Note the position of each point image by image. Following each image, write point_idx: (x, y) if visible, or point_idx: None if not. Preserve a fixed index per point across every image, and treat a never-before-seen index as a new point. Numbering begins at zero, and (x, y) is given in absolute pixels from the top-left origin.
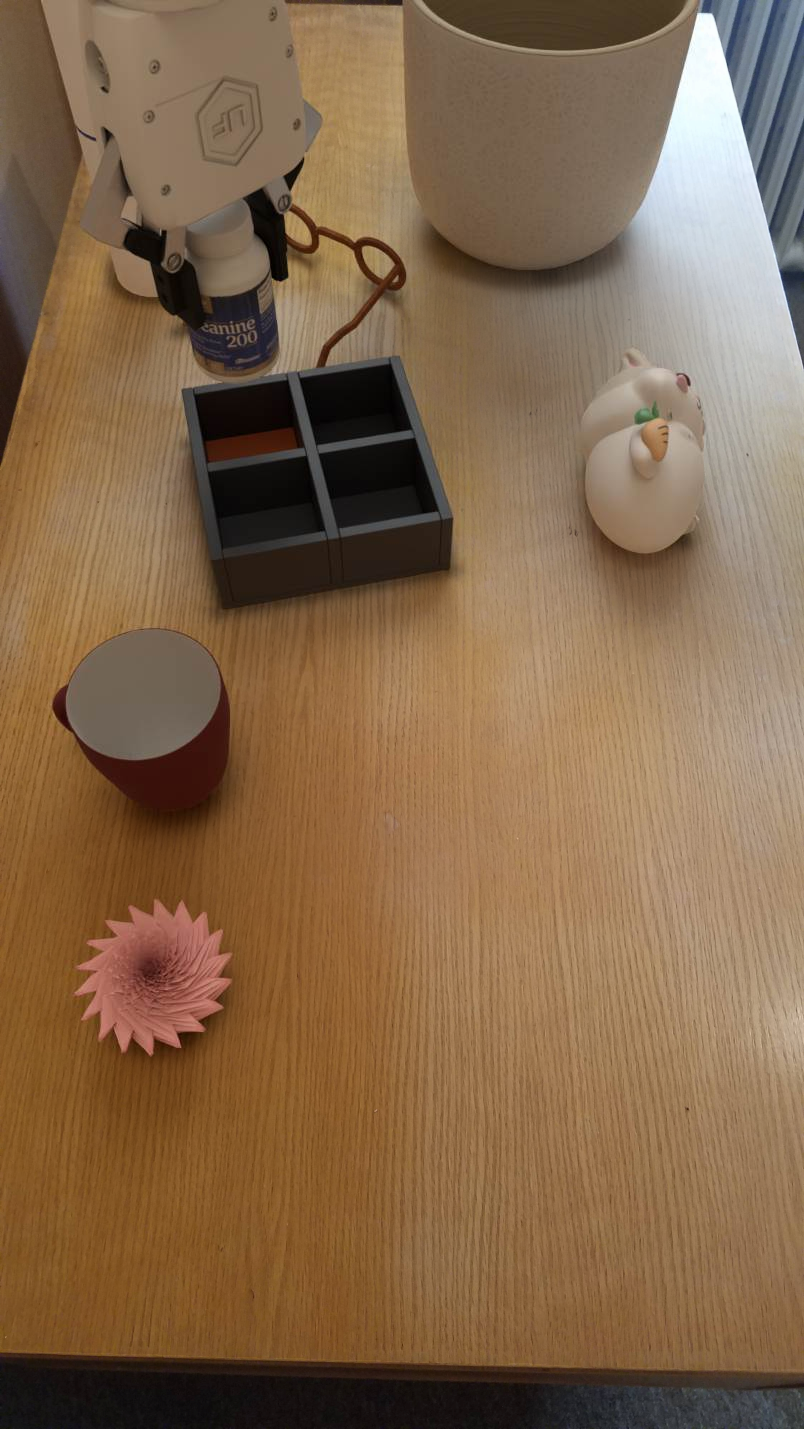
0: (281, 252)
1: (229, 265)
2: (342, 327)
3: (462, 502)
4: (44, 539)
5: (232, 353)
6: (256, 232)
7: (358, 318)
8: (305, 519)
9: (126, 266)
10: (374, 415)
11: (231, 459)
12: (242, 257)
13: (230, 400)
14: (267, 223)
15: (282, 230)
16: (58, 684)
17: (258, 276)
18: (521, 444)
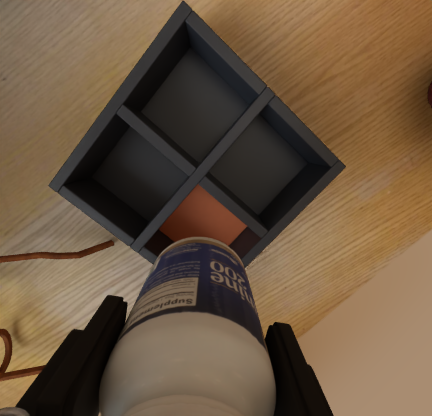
0: (95, 333)
1: (222, 381)
2: (52, 258)
3: (126, 70)
4: (327, 292)
5: (240, 272)
6: (94, 399)
7: (34, 254)
8: (222, 162)
9: None
10: (103, 185)
11: (246, 224)
12: (188, 378)
13: None
14: (75, 410)
15: (60, 371)
16: (417, 209)
17: (183, 322)
18: (38, 64)
